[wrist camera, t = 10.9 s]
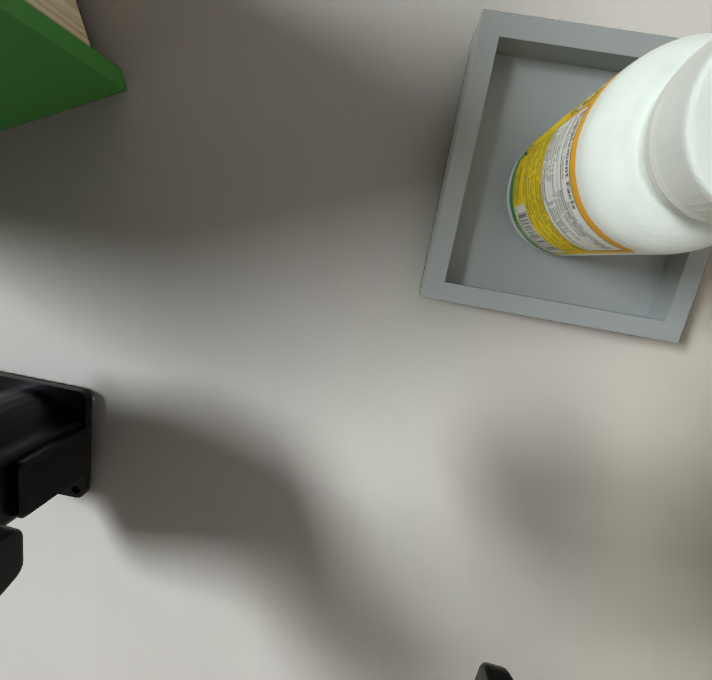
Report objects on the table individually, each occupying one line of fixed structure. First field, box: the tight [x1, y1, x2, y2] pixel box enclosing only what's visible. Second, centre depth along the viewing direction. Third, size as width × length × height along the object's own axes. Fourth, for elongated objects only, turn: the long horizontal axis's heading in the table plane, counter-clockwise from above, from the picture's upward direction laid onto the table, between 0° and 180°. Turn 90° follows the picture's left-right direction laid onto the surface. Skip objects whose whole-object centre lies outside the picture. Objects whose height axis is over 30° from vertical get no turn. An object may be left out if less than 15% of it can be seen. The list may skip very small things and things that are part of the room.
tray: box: [419, 9, 712, 343], centre depth 16 cm, size 11×11×2 cm
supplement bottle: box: [507, 33, 712, 256], centre depth 12 cm, size 5×5×10 cm
